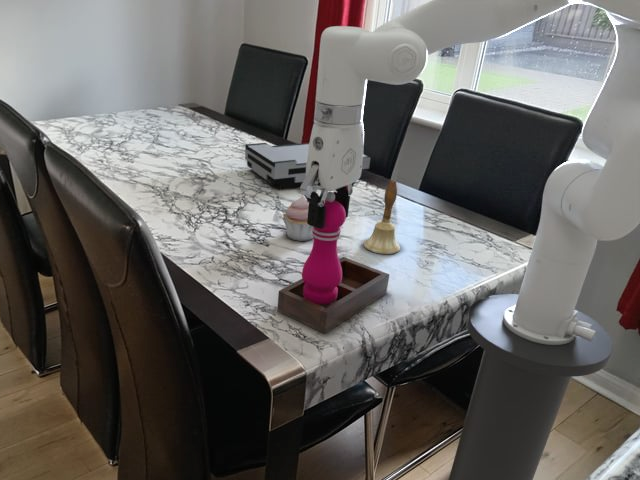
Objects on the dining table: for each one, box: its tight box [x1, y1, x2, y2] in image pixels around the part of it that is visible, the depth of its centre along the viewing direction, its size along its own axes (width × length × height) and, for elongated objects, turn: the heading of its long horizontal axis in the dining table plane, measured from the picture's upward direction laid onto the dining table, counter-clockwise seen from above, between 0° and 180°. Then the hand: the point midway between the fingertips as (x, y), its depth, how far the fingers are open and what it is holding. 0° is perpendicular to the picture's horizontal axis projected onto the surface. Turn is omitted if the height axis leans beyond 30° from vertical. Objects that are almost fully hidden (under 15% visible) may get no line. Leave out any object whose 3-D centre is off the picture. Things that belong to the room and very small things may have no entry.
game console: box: [244, 142, 371, 191], centre depth 177 cm, size 21×32×8 cm, turn 114°
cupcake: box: [282, 195, 314, 242], centre depth 135 cm, size 9×9×10 cm
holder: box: [277, 256, 390, 335], centre depth 109 cm, size 11×21×4 cm, turn 138°
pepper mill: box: [301, 191, 347, 304], centre depth 101 cm, size 7×7×20 cm
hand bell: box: [363, 179, 401, 255], centre depth 130 cm, size 8×8×16 cm
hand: (327, 220), depth 98 cm, fingers closed on pepper mill, 6 cm apart
